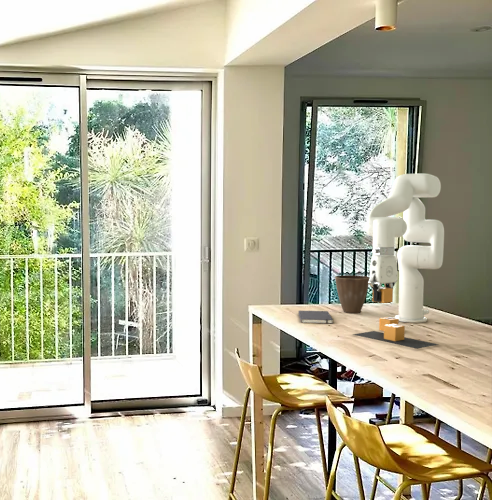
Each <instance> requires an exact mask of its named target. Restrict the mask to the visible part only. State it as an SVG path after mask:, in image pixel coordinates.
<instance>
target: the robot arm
mask: <svg viewBox="0 0 492 500" xmlns="http://www.w3.org/2000/svg"><path fill="white" fill-rule="evenodd" d="M441 190H442V184H441V180H440V179H439V177H438V176H436V175H433V174H431V173H403V174H400V175H398V176H396V178H395V180H394V181H393V184H392V187H391V190H390V192H389V194H388V197H387V198H386V199H383V200H382V201H381V202H379V203H378V204H376V205H374V206H373V208H372V209H371V210H370V212H369V214H368V217H367V220H366V223H365V232H366V234H367V235H368V236H370V237H372V251H371V252H372V256H371V259H370V268H369V277H370V279H369V281H368V284H369V285H368V286H370V288H371V290H372V302H373V301H375V302H374V303H380V302H381V291H380V289H381V287H382V284H384V287H385V288H393V289H394V287H395V285H396V284H397V282H398V313H397V314H398V315H394V318H396V319H399V322H401V323H411V324H412V323H413V324H420V323H426V322H428V318H427V317H425V315H429V314H430V310H429V309H424V290H425V289H424V288H425V287H424V284H425V281H424V277H423V275H422V274H421V272H420V271H419V270H420V269H421V270H438V269H440V268H441V267H442V266H443V262H444V250H445V249H444V246H445V228H444V223H443V222H442V221H441V220H438V219H426V206H425V204H424V203H423V202H422V201H421V199H422V198H436V197H438V196H439V195H440V192H441ZM420 198H421V199H420ZM401 213H402V215H403V216H402V217H397V216H395V215H398V214H401ZM401 237H402V238H403V240H404V241H405V242H409V243H425V244H426V243H427V244H430V245H416V244H415V245H414V244H413V245H409V244H408V245H403V246H401V247H399V248H398V250H397V253H396V255H395V243H396V240H395V239H396V238H401Z"/></svg>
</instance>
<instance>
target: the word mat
mask: <svg viewBox="0 0 492 500" xmlns="http://www.w3.org/2000/svg"><path fill="white" fill-rule="evenodd" d="M352 336H357V337H362V338H366V339H371V340H375V341H380V342H385V343H387V344H388V343H389V344H392V345H397V346H402V347H407V348H411V349H415V350H418V349H423V348H428V347H429V348H430V347H435V346H438V345H440V344H439V343H435V342H430V341H424V340H420V339H414V338H410V337H405V336H404V340H399V341H392V340H387V339H384V332H382V331H376V330H371V331H365V332H359V333H353V334H352Z"/></svg>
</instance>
